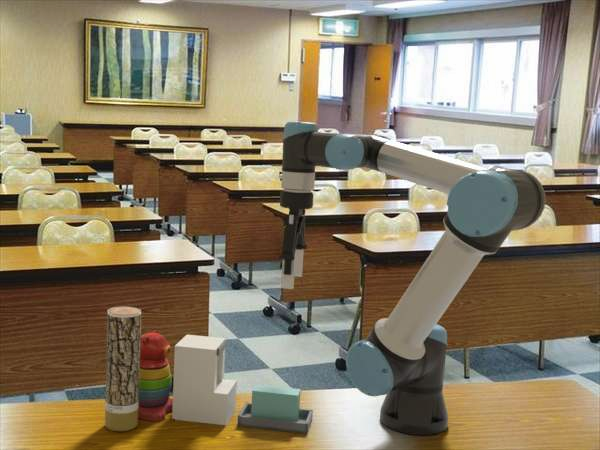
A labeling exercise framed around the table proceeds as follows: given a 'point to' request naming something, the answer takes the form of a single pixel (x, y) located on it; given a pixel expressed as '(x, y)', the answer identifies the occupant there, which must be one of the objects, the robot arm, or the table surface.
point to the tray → (276, 421)
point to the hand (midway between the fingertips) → (291, 282)
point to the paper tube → (122, 368)
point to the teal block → (275, 403)
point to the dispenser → (202, 381)
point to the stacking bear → (154, 378)
